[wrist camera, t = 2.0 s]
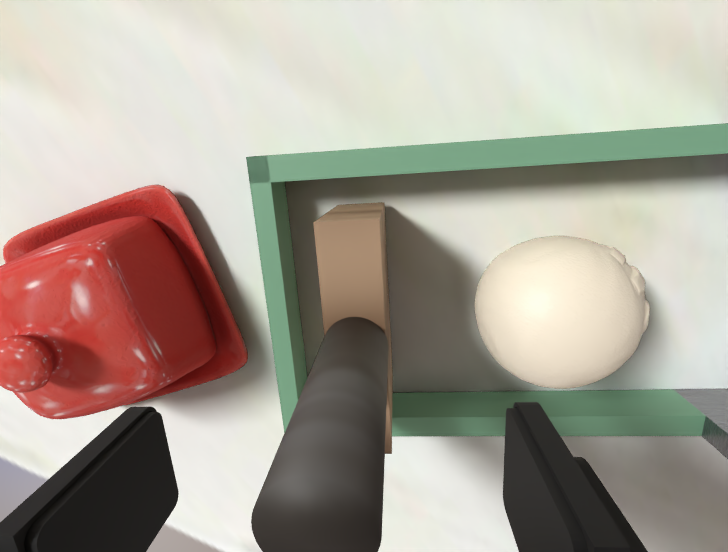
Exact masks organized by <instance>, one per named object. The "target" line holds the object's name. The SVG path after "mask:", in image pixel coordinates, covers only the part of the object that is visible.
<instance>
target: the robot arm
mask: <svg viewBox="0 0 728 552" xmlns="http://www.w3.org/2000/svg"><path fill="white" fill-rule="evenodd" d="M177 500H178V488H177V483H176V479H175V474H174V470H173V465H172V461H171V456H170V452H169V447H168V443H167V438H166V433H165V429H164V424H163V420H162V416H161V414H160V413H158V412H156V410H155V408H153V407H130V408H129V409H127V410H126V411H125V412H124V413H122V414H121V415H120V416H119V417H118V418H117V419H116V420H115V421H114V422H112V423H111V424H110V425H109V426H108V427H107V428H106V429H105V430H103V431H102V432H101V433H100V434H99V435H98V436H97V437H96V438H94V439H93V440H92V441H91V442H90V443H89V444H88V445H87V446H85V447H84V448H83V449H82V450H81V451H80V452H79V453H78V454H77V455H75V456H74V457H73V458H72V459H71V460H70V461H69V462H68V463H66V464H65V465H64V466H63V467H62V468H61V469H60V470H59V471H57V472H56V473H55V474H54V475H53V476H52V477H51V478H50V479H49V480H47V481H46V482H45V483H44V484H43V485H42V486H41V487H40V488H38V489H37V490H36V491H35V492H34V493H33V494H32V495H31V496H29V498H27V499H26V500H25V501H24V502H23V503H22V504H20V505H19V506H18V507H17V508H16V509H15V510H14V511H13V512H12V513H11V514H9V515H8V516H7V517H6V518H5V519H4V520H3V521H2V522H0V552H146V551H147V549H148V547H149V546H150V545H151V543H152V541H153V540H154V538H155V537H156V535H157V534H158V532H159V531H160V529H161V528H162V526H163V525H164V523H165V521H166V520H167V518H168V517H169V515H170V514H171V512H172V511H173V509H174V508H175V506H176V503H177ZM503 500H504V506H505V510H506V513H507V516H508V519H509V522H510V525H511V528H512V531H513V535H514V538H515V541H516V544H517V547H518V550H519V552H648V551H647V550H646V548H645V547H644V545H643V544H642V542H641V541H640V539H639V538H638V536H637V535H636V533H635V532H634V530H633V529H632V527H631V526H630V524H629V523H628V522H627V520H626V519H625V517H624V516H623V514H622V513H621V511H620V510H619V508H618V507H617V505H616V504H615V502H614V501H613V499H612V498H611V496H610V495H609V493H608V492H607V490H606V489H605V487H604V486H603V484H602V483H601V481H600V480H599V478H598V477H597V475H596V474H595V472H594V471H593V469H592V468H591V466H590V465H589V463H588V462H587V461H586V460H585V459H583V458H582V457H573V456H572V454H571V453H570V451H569V449H568V448H567V446H566V445H565V443H564V442H563V440H562V438H561V437H560V435H559V434H558V432H557V430H556V429H555V427H554V426H553V424H552V422H551V421H550V419H549V418H548V416H547V415H546V413H545V411H544V410H543V408H542V407H541V405H540V404H539V403H538V402H515V403H514V405H513V408H507V410H506V424H505V453H504V481H503Z"/></svg>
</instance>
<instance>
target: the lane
mask: <svg viewBox="0 0 728 552" xmlns="http://www.w3.org/2000/svg"><path fill="white" fill-rule="evenodd" d="M726 153H728V123H726V124H712V125H697V126H683V127H669V128H654V129H640V130H626V131H611V132H597V133H583V134H568V135H554V136H540V137H525V138H511V139H497V140H482V141H468V142H454V143H440V144H425V145H411V146H397V147H382V148H368V149H354V150H339V151H325V152H311V153H296V154H282V155H268V156H253V157H246V159H247V166H248V173H249V181H250V188H251V195H252V202H253V209H254V217H255V224H256V231H257V238H258V245H259V253H260V260H261V267H262V274H263V281H264V288H265V296H266V303H267V310H268V317H269V324H270V332H271V339H272V346H273V353H274V360H275V368H276V375H277V382H278V389H279V396H280V404H281V411H282V418H283V425H284V432H285V431H286V429H287V426H288V424H289V421H290V419H291V417H292V414H293V412H294V409H295V407H296V405H297V402H298V400H299V397H300V395H301V392H302V390H303V388H304V385H305V383H306V380H307V370H306V361H305V353H304V344H303V335H302V327H301V318H300V309H299V301H298V292H297V283H296V275H295V266H294V257H293V249H292V240H291V231H290V223H289V214H288V205H287V196H286V188H285V181H299V180H315V179H331V178H347V177H363V176H378V175H394V174H410V173H426V172H442V171H457V170H473V169H489V168H505V167H521V166H536V165H552V164H568V163H584V162H600V161H616V160H631V159H647V158H663V157H679V156H695V155H710V154H726ZM515 402H538V403H539V404H540V405H541V407H542V408H543V410H544V411H545V413H546V415H547V416H548V418H549V419H550V421H551V422H552V424H553V426H554V427H555V429H556V430H557V432H558V434H559V435H560V436H702V432H703V427H704V422H705V417H706V416H705V415H704V414H703V413H702V412H701V411H699V410H698V409H697V408H696V407H694V406H693V405H692V404H691V403H689V402H688V401H687V400H686V399H684V398H683V397H682V396H681V395H680V394H678V393H677V392H676V391H675V390H673V389H672V390H586V391H500V392H414V393H393V394H392V436H505V424H506V410H507V408H513V405H514V403H515Z"/></svg>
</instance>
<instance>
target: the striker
mask: <svg viewBox="0 0 728 552" xmlns="http://www.w3.org/2000/svg"><path fill="white" fill-rule="evenodd" d="M313 224H314V235H315V245H316V255H317V265H318V275H319V285H320V295H321V306H322V316H323V326H324V336H325V337H324V339H323V342H322V344H321V346H320V349H319V351H318V354H317V356H316V358H315V361H314V363H313V366H312V368H311V371H310V373H309V375H308V378H307V380H306V383H305V385H304V388H303V390H302V392H301V395H300V397H299V400H298V402H297V405H296V407H295V409H294V412H293V414H292V417H291V419H290V421H289V424H288V426H287V429H286V431H285V434H284V436H283V438H282V441H281V443H280V446H279V448H278V451H277V453H276V455H275V458H274V460H273V463H272V465H271V468H270V470H269V472H268V475H267V477H266V480H265V482H264V484H263V487H262V489H261V492H260V494H259V497H258V499H257V501H256V504H255V506H254V509H253V513H252V521H251V523H252V530H253V534H254V537H255V539H256V542H257V543H258V545H259V547H260V548H261V550H262V551H263V552H378V549H379V547H380V543H381V537H382V510H383V484H384V458H385V454H392V394H393V370H392V350H391V329H390V308H389V288H388V267H387V246H386V225H385V205H384V202H381V203H363V204H345V205H337V206H336V207H335V208H333V209H332V210H330V211H329V212H328V213H326V214H325V215H323V216H322V217H320V218H319V219H318V220H316V221H315V222H313Z"/></svg>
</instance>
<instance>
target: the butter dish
mask: <svg viewBox="0 0 728 552" xmlns="http://www.w3.org/2000/svg"><path fill="white" fill-rule="evenodd" d="M3 256H4V260H5V263H6V264H4V265H2V266H0V386H2V387H3V388H5V389H7V390H9V391H13V392H14V393H15V395H16V396H17V397H18V398H19V399H20V400H21V401H22V402H23V403H24V404H25V405H26V406H28V408H30V409H31V410H33V411H34V412H35V413H37V414H39V415H40V416H43V417H46V418H50V419H67V418H74V417H80V416H86V415H90V414H94V413H97V412H101V411H105V410H109V409H112V408H115V407H119V406H121V405H128V404H132V403H135V402H140V401H143V400H147V399H151V398H154V397H158V396H162V395H165V394H169V393H172V392H176V391H179V390H182V389H185V388H190V387H192V386H196V385H200V384H202V383H206V382H208V381H212V380H215V379H218V378H221V377H223V376H226V375H228V374H230V373H233V372H234V371H237V370H238V369H240V368H241V367H243V366H244V365H245V363H246V362H247V359H248V353H247V349H246V346H245V343H244V341H243V337H242V336H241V332H240V330H239V329H238V327H237V324H236V322H235V320H234V317H233V315H232V313H231V310H230V308H229V306H228V304H227V302H226V300H225V297H224V295H223V293H222V291H221V288H220V286H219V284H218V282H217V280H216V277H215V275H214V273H213V271H212V269H211V267H210V264H209V262H208V260H207V258H206V256H205V253H204V251H203V249H202V247H201V244H200V242H199V241H198V239H197V236H196V234H195V232H194V230H193V228H192V226H191V224H190V222H189V220H188V218H187V216H186V214H185V212H184V210H183V208H182V207H181V205H180V203H179V201H178V200H177V198H176V197H175V196H174V195H173V193H172V192H171V191H170V190H169V189H167V188H165V187H164V186H161V185H149V186H145V187H142V188H138V189H136V190H133V191H130V192H126V193H123V194H121V195H118V196H114V197H112V198H109V199H107V200H104V201H101V202H99V203H96V204H92V205H90V206H88V207H85V208H82V209H80V210H77V211H74V212H72V213H69V214H67V215H64V216H62V217H59V218H56V219H53V220H51V221H49V222H46V223H43V224H41V225H38V226H36V227H33V228H31V229H28V230H26V231H24V232H21V233H20V234H18V235H16V236H14V237H13V238H11V239H10V240H9V241H8V242H7V243H6V244H5V246H4V249H3Z"/></svg>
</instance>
